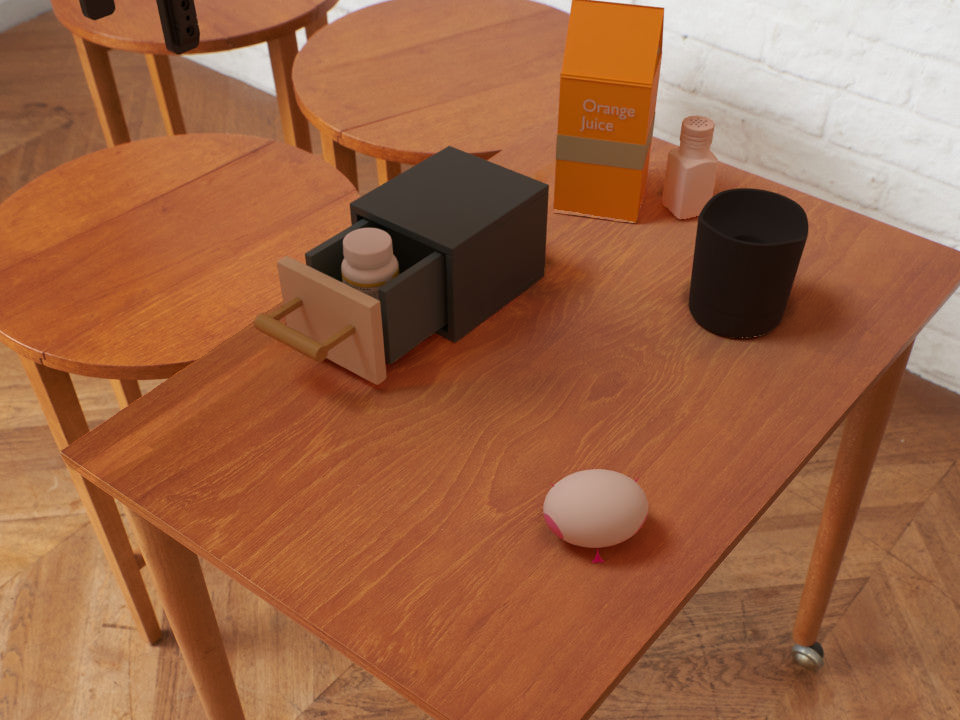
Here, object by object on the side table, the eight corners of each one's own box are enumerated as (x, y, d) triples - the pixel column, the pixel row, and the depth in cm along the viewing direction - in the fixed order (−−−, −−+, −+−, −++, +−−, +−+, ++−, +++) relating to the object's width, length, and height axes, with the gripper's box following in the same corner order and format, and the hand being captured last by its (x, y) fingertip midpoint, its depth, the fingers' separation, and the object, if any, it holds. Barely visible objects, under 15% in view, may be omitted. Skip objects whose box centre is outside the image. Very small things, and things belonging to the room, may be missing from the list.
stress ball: (630, 542, 81) (629, 457, 80) (659, 567, 73) (659, 473, 72) (533, 548, 80) (531, 462, 79) (552, 574, 72) (550, 479, 71)
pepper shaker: (678, 223, 108) (691, 135, 101) (658, 204, 110) (670, 117, 103) (711, 215, 109) (726, 127, 102) (691, 197, 111) (705, 110, 105)
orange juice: (636, 225, 107) (660, 24, 93) (552, 213, 109) (562, 13, 94) (646, 187, 113) (670, -8, 98) (566, 177, 114) (577, -18, 100)
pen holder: (807, 325, 96) (833, 228, 89) (724, 354, 93) (745, 256, 85) (743, 274, 101) (763, 178, 94) (663, 300, 98) (678, 203, 91)
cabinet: (454, 343, 93) (452, 249, 86) (358, 296, 98) (348, 203, 91) (544, 276, 101) (549, 184, 94) (451, 235, 105) (449, 145, 98)
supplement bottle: (379, 302, 94) (371, 218, 88) (414, 325, 91) (409, 240, 85) (336, 324, 91) (326, 239, 85) (371, 348, 89) (363, 262, 83)
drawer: (338, 414, 85) (327, 336, 79) (248, 364, 89) (232, 286, 83) (471, 316, 94) (470, 240, 89) (385, 275, 99) (379, 200, 93)
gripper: (-62, -275, 59) (28, 22, 71) (99, -235, 53) (168, 81, 65) (51, -292, 63) (118, -10, 75) (212, -258, 57) (257, 43, 69)
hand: (141, 32), depth 70 cm, fingers open, 8 cm apart
